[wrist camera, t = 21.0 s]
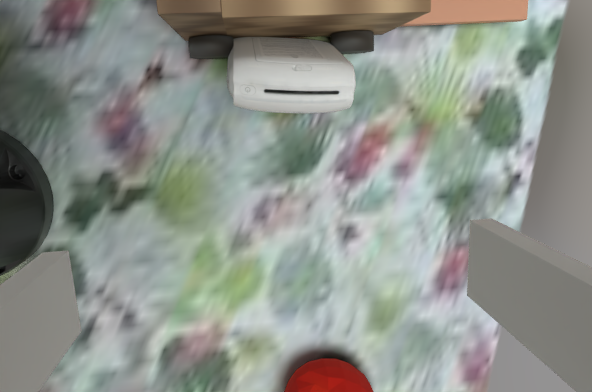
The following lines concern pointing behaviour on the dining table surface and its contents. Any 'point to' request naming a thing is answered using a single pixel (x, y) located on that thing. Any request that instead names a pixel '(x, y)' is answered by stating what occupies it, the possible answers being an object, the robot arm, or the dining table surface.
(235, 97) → the photo printer
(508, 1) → the cabinet door
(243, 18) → the truck
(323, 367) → the tomato
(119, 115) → the dining table surface
